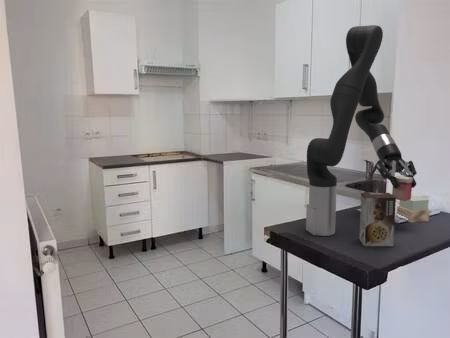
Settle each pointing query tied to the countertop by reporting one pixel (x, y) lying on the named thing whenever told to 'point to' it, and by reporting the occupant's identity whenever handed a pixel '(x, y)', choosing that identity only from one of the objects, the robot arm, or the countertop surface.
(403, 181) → the small box
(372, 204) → the cookie box
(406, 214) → the oak base block
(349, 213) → the countertop surface
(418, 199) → the sage top block
